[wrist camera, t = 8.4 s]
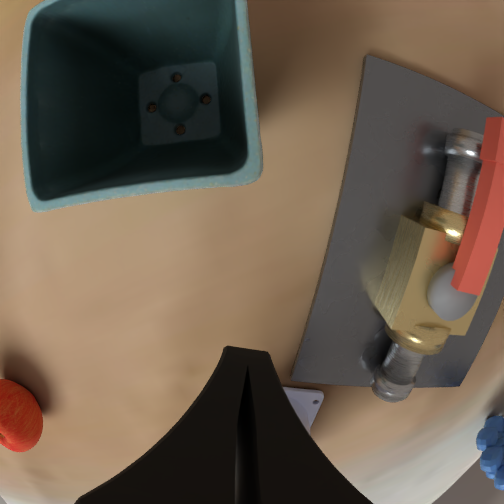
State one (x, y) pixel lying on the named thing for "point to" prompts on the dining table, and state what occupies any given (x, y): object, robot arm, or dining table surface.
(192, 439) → the robot arm
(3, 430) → the apple
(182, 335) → the dining table surface
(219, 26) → the flower pot
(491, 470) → the grapes
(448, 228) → the valve body
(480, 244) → the lever
